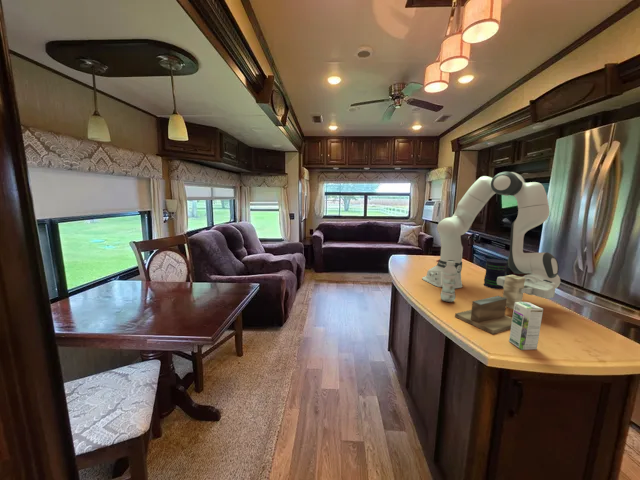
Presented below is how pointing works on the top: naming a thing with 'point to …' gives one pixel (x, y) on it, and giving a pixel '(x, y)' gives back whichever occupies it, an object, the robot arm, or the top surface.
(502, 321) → the ridge
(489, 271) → the storage jar
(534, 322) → the syrup box
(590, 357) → the top surface
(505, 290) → the ash post
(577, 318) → the top surface
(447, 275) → the plastic bottle
